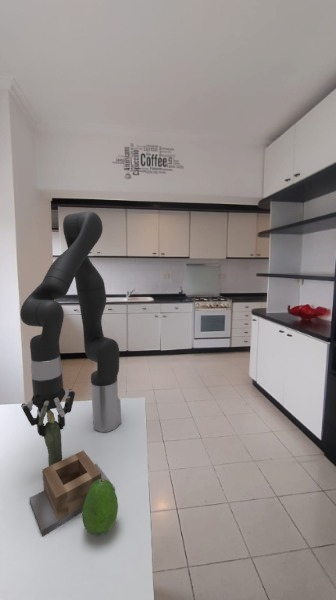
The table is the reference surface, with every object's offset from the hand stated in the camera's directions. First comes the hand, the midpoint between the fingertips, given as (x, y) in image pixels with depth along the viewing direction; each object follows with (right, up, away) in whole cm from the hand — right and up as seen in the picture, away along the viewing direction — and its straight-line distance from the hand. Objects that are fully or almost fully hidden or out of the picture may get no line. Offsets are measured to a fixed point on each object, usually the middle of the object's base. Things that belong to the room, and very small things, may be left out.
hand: (51, 431), depth 76 cm
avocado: (+17, -16, -14) cm, 27 cm away
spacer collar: (+8, -14, -6) cm, 17 cm away
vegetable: (0, -13, +2) cm, 13 cm away
